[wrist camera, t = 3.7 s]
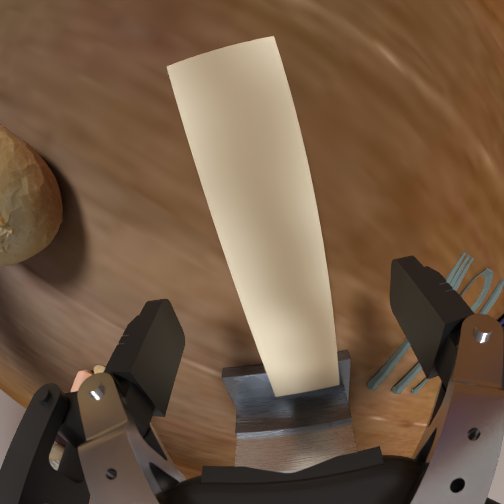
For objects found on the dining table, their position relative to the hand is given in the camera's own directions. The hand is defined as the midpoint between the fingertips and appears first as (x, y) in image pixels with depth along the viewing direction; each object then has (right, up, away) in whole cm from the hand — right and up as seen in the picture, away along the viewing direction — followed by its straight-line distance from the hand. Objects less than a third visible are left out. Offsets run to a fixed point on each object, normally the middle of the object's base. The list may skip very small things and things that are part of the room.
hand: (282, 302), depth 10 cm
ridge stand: (+3, -11, +13) cm, 18 cm away
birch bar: (0, +3, +7) cm, 7 cm away
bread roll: (-19, +8, +5) cm, 22 cm away
